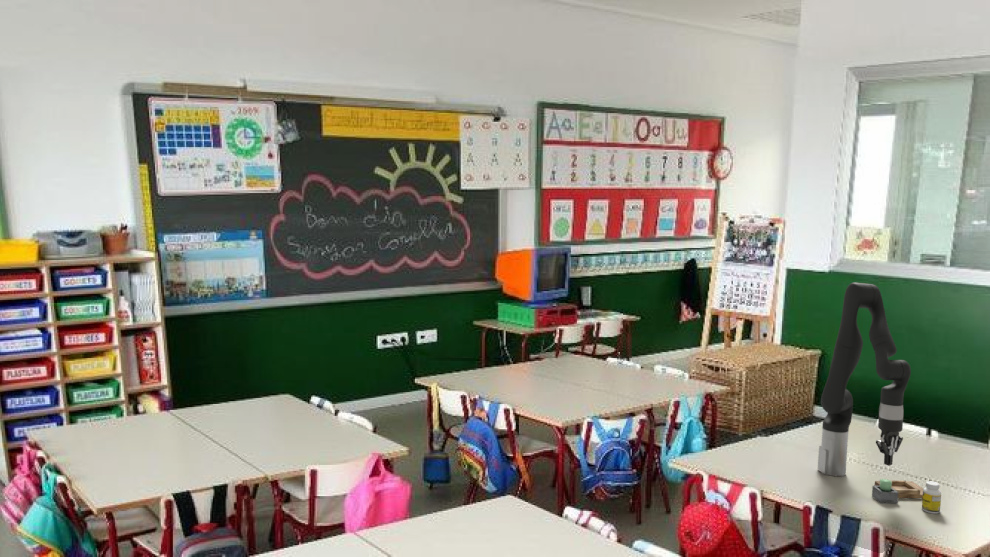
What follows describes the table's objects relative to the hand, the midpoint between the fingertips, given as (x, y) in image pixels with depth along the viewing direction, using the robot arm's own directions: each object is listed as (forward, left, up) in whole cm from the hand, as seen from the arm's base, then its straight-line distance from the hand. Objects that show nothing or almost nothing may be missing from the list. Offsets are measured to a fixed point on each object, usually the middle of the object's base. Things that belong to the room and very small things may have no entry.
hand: (888, 464), depth 261 cm
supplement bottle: (+11, -9, -13) cm, 19 cm away
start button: (0, 0, -9) cm, 9 cm away
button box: (0, 0, -13) cm, 13 cm away
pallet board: (+11, +8, -13) cm, 19 cm away
